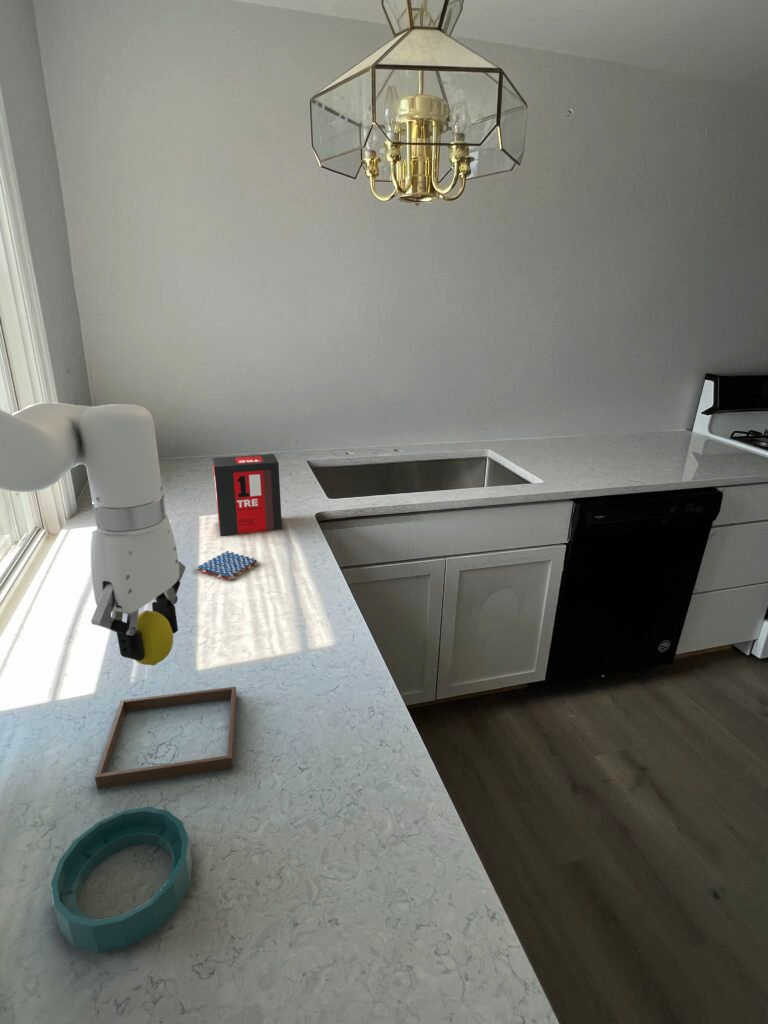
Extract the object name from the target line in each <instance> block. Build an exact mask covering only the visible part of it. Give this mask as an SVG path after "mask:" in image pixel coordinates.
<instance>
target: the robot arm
mask: <svg viewBox="0 0 768 1024" xmlns="http://www.w3.org/2000/svg"><path fill="white" fill-rule="evenodd" d="M156 436H157V435H156V428H155V422H154V418H153V415H152V414H151V411H150V410H149V409H147V408H146V407H144V406H142V405H139V404H132V403H115V404H114V403H113V404H103V405H97V406H93V405H92V406H91V405H80V404H71V403H63V402H51V401H50V402H49V401H46V402H45V401H43V402H38V403H34V404H29V405H28V406H26V407H24V408H22V409H20V410H18V411H16V412H14V413H12V414H11V413H10V412H6V411H4V410H2V409H0V489H1V490H6V491H10V492H11V491H12V492H18V493H34V492H39V491H43V490H45V489H48V488H50V487H52V486H54V485H55V484H56V483H58V481H59V480H60V479H61V478H62V477H64V476H65V475H66V473H67V472H68V471H70V470H71V469H73V468H75V467H77V466H80V465H83V466H85V468H86V474H87V479H88V485H89V491H90V496H91V502H92V509H93V514H94V519H95V525H96V530H93V531H92V533H91V538H90V539H91V540H90V569H91V571H90V572H91V580H92V589H93V596H94V600H95V604H96V608H95V610H94V613H93V615H92V617H91V625H93V626H97V627H101V628H104V629H107V630H109V631H111V632H114V633H116V636H117V643H118V648H119V653H120V656H121V657H123V658H127V659H130V660H134V661H136V660H138V661H141V660H142V659H144V657H145V653H144V647H143V640H142V634H141V631H138V630H136V629H137V620H138V614H139V610H140V609H141V608H143V607H144V606H146V605H147V604H149V603H150V602H152V601H153V600H154V602H152V603H151V609H152V611H154V612H158V613H160V614H162V615H163V616H164V617H166V618H167V620H168V621H169V623H170V626H171V628H172V632H173V634H176V633H177V632H178V631H179V627H178V626H179V625H178V619H177V609H176V604H177V603H178V599H179V598H178V595H177V594H178V591H179V588H180V586H181V581H182V578H183V575H185V571H186V566H185V565H184V564H183V563H182V562H180V560H179V556H178V550H177V545H176V541H175V536H174V532H173V529H172V525H171V522H170V519H169V517H168V514H167V513H166V506H165V499H164V498H165V493H164V491H163V484H162V475H161V469H160V461H159V452H158V446H157V445H158V443H157V437H156ZM124 615H127V617H126V622H125V621H123V616H124Z"/></svg>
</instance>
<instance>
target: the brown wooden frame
mask: <svg viewBox="0 0 768 1024" xmlns="http://www.w3.org/2000/svg"><path fill="white" fill-rule="evenodd" d="M237 697H238V695H237V687H236V686H228V687H221V688H213V689H204V690H196V691H188V692H181V693H180V692H179V693H171V694H162V695H154V696H144V697H137V698H129V699H121V700H120V701H119V705H118V707H117V711H116V714H115V716H114V720H113V723H112V726H111V729H110V732H109V735H108V737H107V740H106V744H105V746H104V749H103V752H102V756H101V758H100V762H99V764H98V767H97V770H96V773H95V776H94V781H95V785H96V789H97V790H98V789H102V788H103V789H105V788H112V787H118V786H119V787H120V786H125V785H132V784H138V783H145V782H151V781H158V780H164V779H171V778H173V779H174V778H178V777H184V776H185V777H186V776H191V775H199V774H205V773H212V772H213V773H214V772H219V771H226V770H232V769H234V761H235V760H234V758H235V741H236V740H235V739H236V736H235V735H236V719H237V718H236V717H237V701H238V700H237ZM226 700H230V711H229V713H230V714H229V727H228V741H227V742H228V743H227V745H228V746H227V755H222V756H216V757H215V756H214V757H208V758H201V759H194V760H193V759H192V760H186V761H180V762H173V763H165V764H158V765H152V766H145V767H144V766H143V767H137V768H132V769H123V770H116V771H109V767H110V764H111V761H112V759H113V758H112V757H113V754H114V752H115V748H116V745H117V742H118V739H119V736H120V733H121V729H122V726H123V723H124V719H125V716H126V714H127V713H128V712H138V711H144V710H153V709H154V710H155V709H161V708H169V707H177V706H185V705H194V704H201V703H202V704H203V703H211V702H219V701H226ZM108 771H109V772H108Z"/></svg>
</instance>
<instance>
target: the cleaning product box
mask: <svg viewBox="0 0 768 1024" xmlns="http://www.w3.org/2000/svg"><path fill="white" fill-rule="evenodd" d="M279 464H280V463H279V461H278V459H277V457H276V455H275V453H272V454H271V453H268V454H254V455H240V456H239V455H238V456H224V457H223V456H221V457H212V468H213V477H214V490H215V499H216V510H217V520H218V529H219V536H220V537H225V536H235V535H244V534H253V533H263V532H272V531H274V532H275V531H282V530H283V521H282V519H283V518H282V502H281V501H282V500H281V483H280V465H279Z"/></svg>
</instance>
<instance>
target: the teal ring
mask: <svg viewBox="0 0 768 1024" xmlns="http://www.w3.org/2000/svg"><path fill="white" fill-rule="evenodd" d="M183 823H184V822H183V821H182V820H181V819H180V818H178V817H176V816H175V815H174V813H173V814H172V813H171V812H170V811H169V810H167V809H162V808H156V807H152V806H151V807H150V806H142V807H136V808H130V809H124V810H123V809H122V810H120V811H118V812H117V813H114V814H112V815H109V816H107V817H105V818H103V819H101V820H98V821H97V822H95V823H94V824H93V825H91V826H90V827H89V828H88V829H86V830H84V832H83V833H81V834H79V836H77V837H76V838H75V839H74V840H73V842H72V843H71V844H70V845H69V847H68V848H67V850H65V852H64V853H63V854H62V856H61V857H60V859H59V860H58V863H57V865H56V868H55V871H54V873H53V876H52V879H51V882H50V890H51V898H52V905H53V909H54V913H55V916H56V920H57V923H58V926H59V930H60V932H61V934H62V935H63V936H64V937H65V938H66V939H67V940H68V941H69V942H70V943H71V944H72V945H73V946H74V947H75V948H76V949H79V950H80V949H81V950H85V951H89V952H93V953H97V954H98V953H99V954H100V953H101V954H102V953H106V952H111V951H116V950H120V949H126V948H129V947H131V946H133V945H134V944H136V943H138V942H140V941H142V940H143V939H145V938H147V937H148V936H150V935H153V933H155V932H156V931H158V929H160V928H161V927H162V926H163V924H164V923H165V922H167V920H168V919H170V917H171V916H172V915H173V914H175V912H176V911H177V910H178V909H179V907H180V905H181V903H182V901H183V899H184V898H185V895H186V893H187V892H188V890H189V888H190V886H191V879H192V872H193V871H192V870H193V858H192V852H191V845H190V839H189V836H188V833H187V831H186V828H185V826H184V824H183ZM144 845H146V846H152V847H158V848H160V849H161V850H163V851H164V852H165V853H166V854H168V855H169V856H170V857H171V860H172V866H171V871H170V875H169V876H168V878H167V880H166V882H165V884H164V885H162V887H161V888H160V889H159V890H158V891H157V892H156V893H155V894H154V895H153V896H151V898H149V899H148V901H145V902H144V903H142V904H140V905H139V906H137V907H136V906H135V908H133V909H131V910H129V911H127V912H125V913H123V914H119V915H115V916H109V917H104V918H100V919H97V918H92V917H88V916H87V915H86V914H85V913H84V912H83V911H82V910H81V909H80V908H79V903H78V902H79V900H80V895H81V893H82V889H83V887H84V885H85V883H86V882H87V880H88V879H89V877H90V875H91V874H92V873H93V871H94V870H96V868H97V867H99V866H100V865H101V864H103V862H105V861H106V860H107V859H108V858H109V857H110V856H112V855H115V854H116V853H119V852H122V851H123V850H125V849H127V848H131V847H138V846H144Z"/></svg>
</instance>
